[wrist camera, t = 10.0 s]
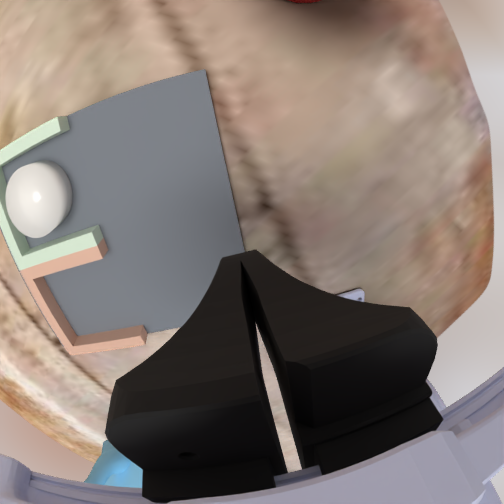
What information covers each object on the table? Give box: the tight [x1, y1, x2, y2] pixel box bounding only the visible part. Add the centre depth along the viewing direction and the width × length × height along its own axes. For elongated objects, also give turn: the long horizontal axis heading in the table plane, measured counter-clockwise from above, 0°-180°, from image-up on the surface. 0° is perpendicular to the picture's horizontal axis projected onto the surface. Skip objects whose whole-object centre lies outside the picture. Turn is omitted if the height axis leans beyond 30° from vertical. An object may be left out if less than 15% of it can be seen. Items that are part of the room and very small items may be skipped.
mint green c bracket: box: [0, 116, 103, 270], centre depth 15 cm, size 9×8×1 cm
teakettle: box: [84, 440, 143, 488], centre depth 25 cm, size 19×19×15 cm
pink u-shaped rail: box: [20, 238, 147, 355], centre depth 20 cm, size 9×8×1 cm
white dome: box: [6, 160, 72, 238], centre depth 15 cm, size 5×5×2 cm
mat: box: [0, 69, 245, 347], centre depth 19 cm, size 18×19×1 cm
